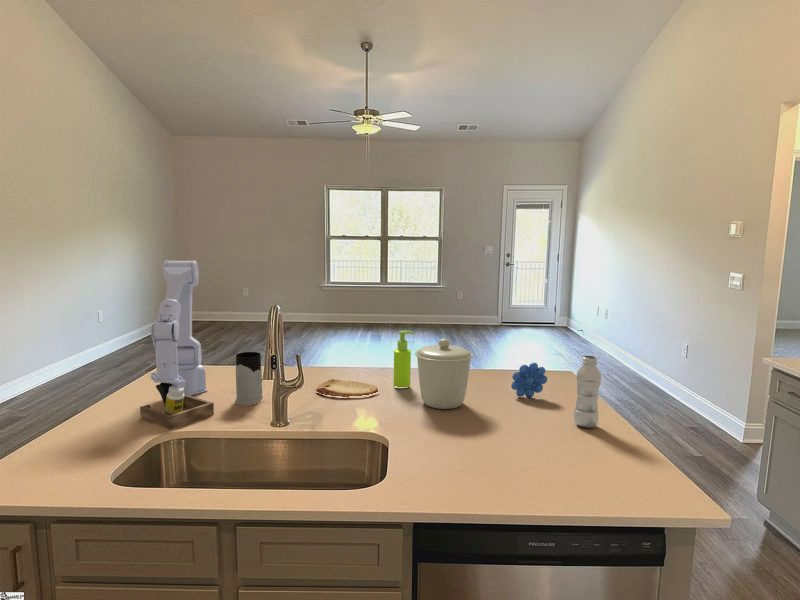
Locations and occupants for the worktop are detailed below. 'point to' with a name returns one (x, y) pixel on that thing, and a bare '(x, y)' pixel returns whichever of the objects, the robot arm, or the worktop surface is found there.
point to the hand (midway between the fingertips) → (169, 407)
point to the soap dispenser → (402, 362)
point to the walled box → (171, 421)
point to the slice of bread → (346, 388)
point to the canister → (443, 374)
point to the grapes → (529, 380)
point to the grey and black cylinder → (248, 378)
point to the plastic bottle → (587, 393)
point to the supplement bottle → (174, 400)
